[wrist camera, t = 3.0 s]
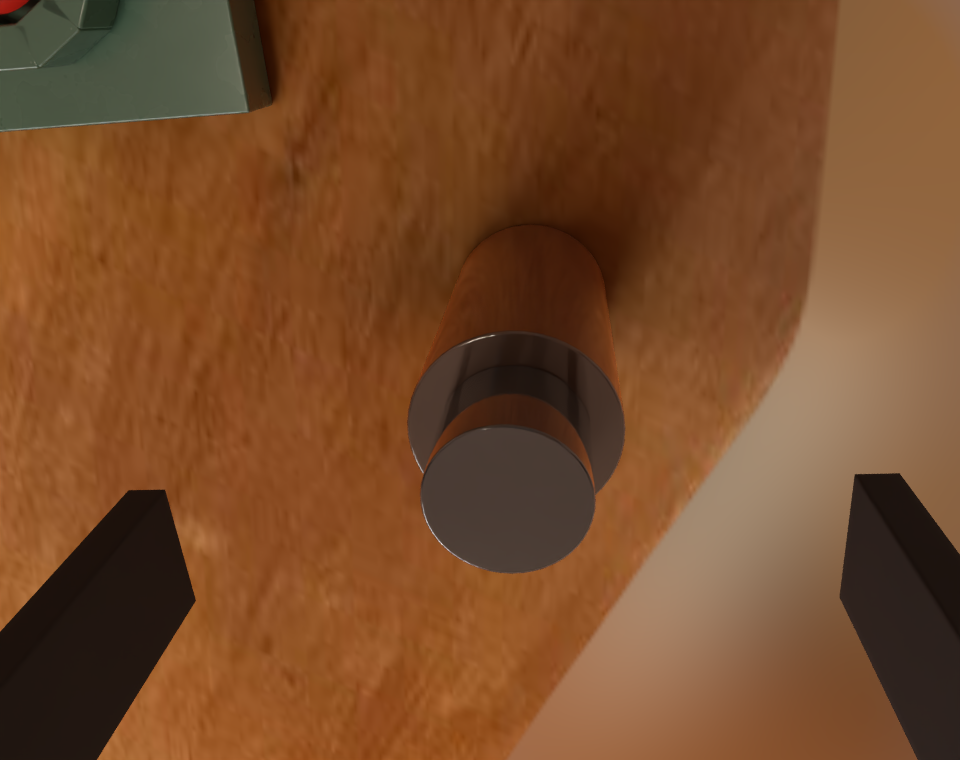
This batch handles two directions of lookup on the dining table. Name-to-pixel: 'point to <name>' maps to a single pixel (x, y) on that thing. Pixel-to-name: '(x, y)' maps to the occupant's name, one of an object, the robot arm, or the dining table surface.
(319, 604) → the dining table surface
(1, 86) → the base
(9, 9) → the button
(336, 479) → the dining table surface
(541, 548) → the metal bottle
